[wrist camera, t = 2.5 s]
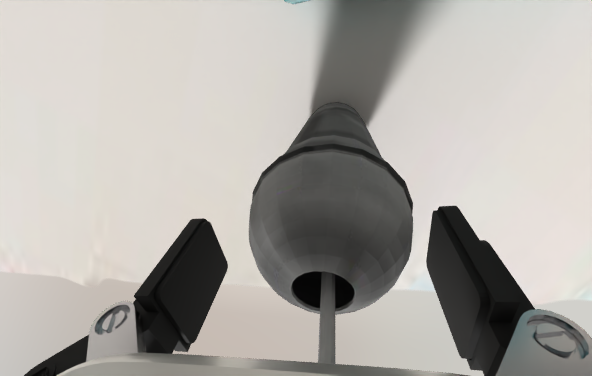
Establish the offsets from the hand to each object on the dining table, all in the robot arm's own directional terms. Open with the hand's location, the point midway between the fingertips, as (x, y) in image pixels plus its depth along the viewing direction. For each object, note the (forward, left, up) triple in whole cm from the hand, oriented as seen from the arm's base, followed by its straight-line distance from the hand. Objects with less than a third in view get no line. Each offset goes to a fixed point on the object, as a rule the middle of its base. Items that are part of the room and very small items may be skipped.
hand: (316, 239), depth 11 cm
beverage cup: (0, 0, -13) cm, 13 cm away
